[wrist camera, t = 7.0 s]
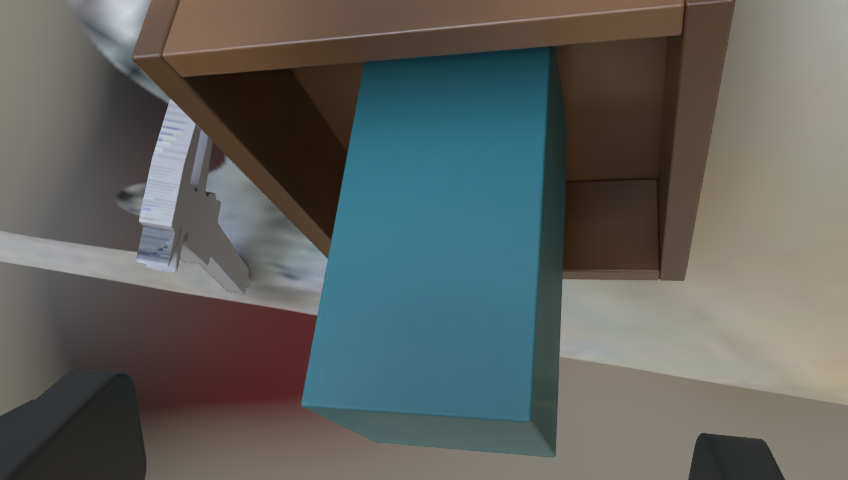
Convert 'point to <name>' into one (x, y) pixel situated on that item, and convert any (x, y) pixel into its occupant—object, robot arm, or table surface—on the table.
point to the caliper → (185, 208)
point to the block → (448, 257)
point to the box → (447, 35)
